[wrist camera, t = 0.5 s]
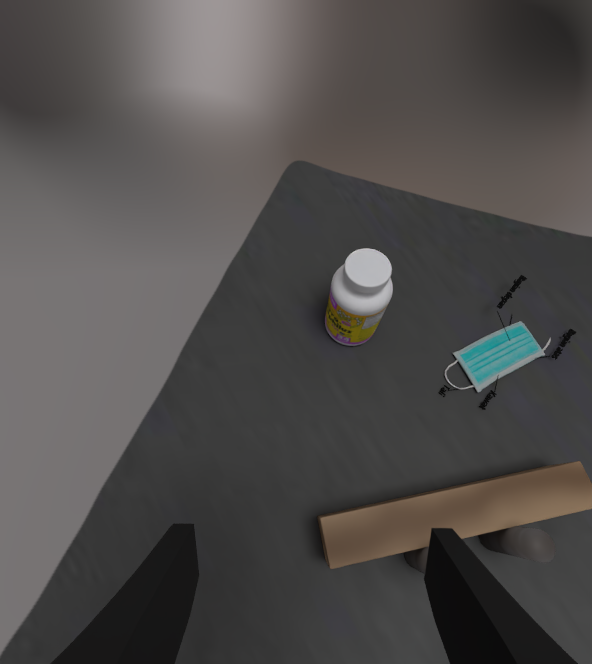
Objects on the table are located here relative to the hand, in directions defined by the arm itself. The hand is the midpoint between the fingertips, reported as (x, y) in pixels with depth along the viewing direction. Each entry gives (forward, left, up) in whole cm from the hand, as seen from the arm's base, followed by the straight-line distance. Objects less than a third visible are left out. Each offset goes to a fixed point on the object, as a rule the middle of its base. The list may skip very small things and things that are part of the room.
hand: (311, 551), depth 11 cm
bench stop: (-3, -15, -29) cm, 33 cm away
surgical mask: (+13, -29, -30) cm, 43 cm away
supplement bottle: (+21, -11, -29) cm, 37 cm away
